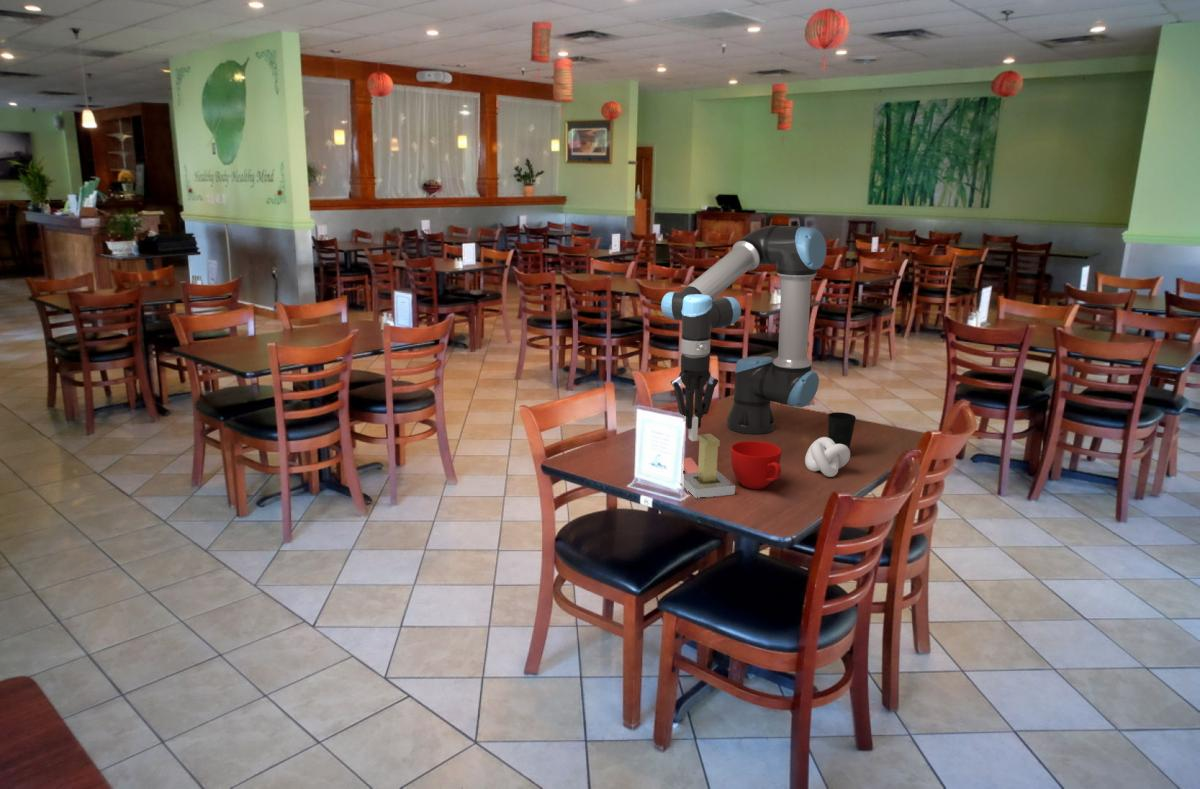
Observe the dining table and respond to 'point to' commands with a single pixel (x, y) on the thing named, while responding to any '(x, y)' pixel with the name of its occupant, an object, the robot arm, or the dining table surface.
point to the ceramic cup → (755, 463)
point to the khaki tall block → (707, 458)
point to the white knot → (826, 456)
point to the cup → (841, 427)
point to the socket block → (708, 486)
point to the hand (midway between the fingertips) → (692, 439)
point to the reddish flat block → (690, 466)
